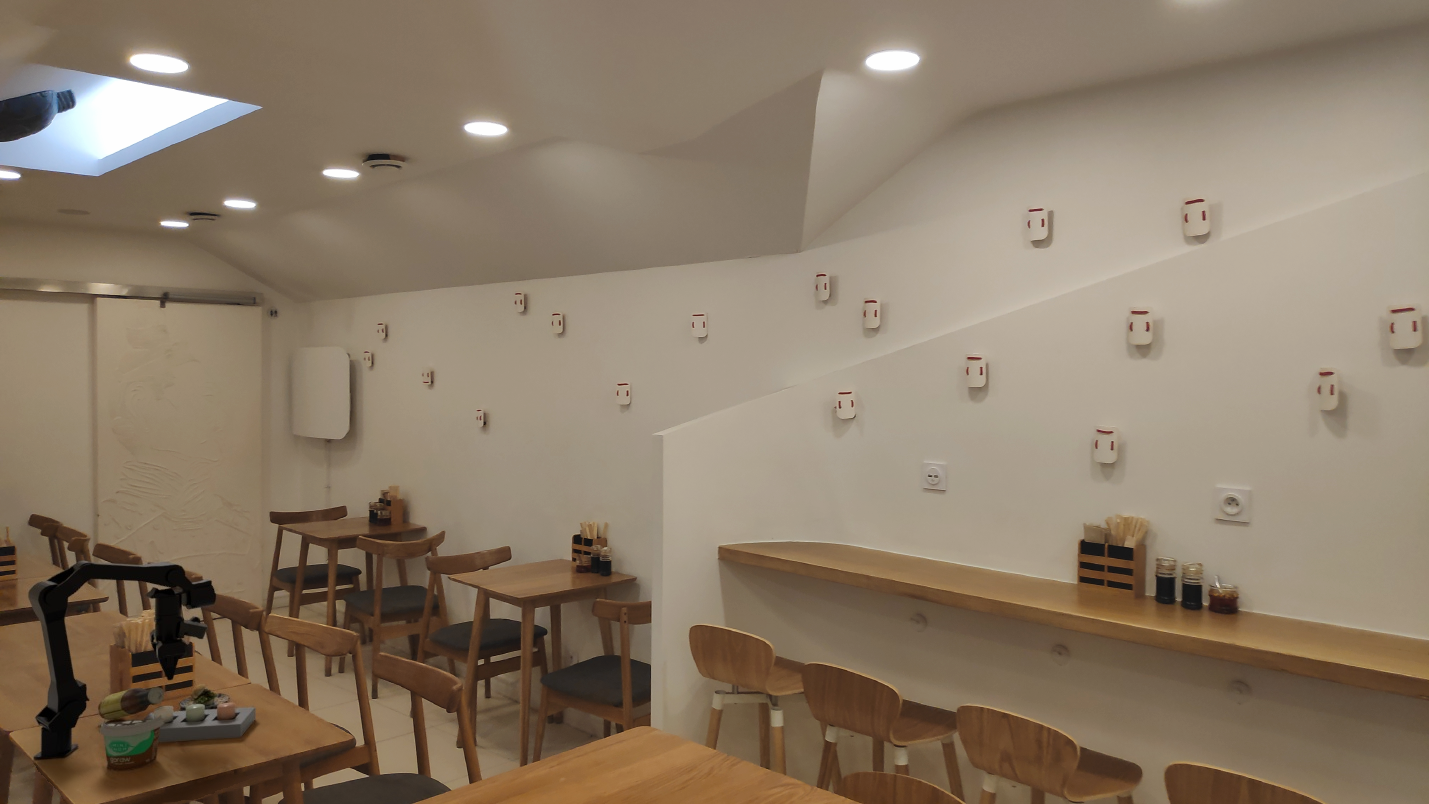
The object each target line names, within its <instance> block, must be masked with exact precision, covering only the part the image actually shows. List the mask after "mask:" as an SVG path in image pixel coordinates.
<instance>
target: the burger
mask: <svg viewBox="0 0 1429 804" xmlns="http://www.w3.org/2000/svg"><path fill="white" fill-rule="evenodd" d="M193 681H194V683H196V682H195V679H193ZM207 686H208V684H206V683H200V684H197V685H195V686H194V687H193V688H192V690H191V693H190V697H187V698H185V699H183V700H181V701H179V708H178V711H186V707H188V706H190V705H195V704H203V705H205V710H210V709H216V708H217V706H218V705H220V704H222V703H227V702H228V701H229V699H231V697H230V696H229V695H227V694H225V693H222V692H220V693H215V692H214V691H212V690H211V689H208V688H207Z"/></svg>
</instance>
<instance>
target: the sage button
mask: <svg viewBox="0 0 1429 804" xmlns="http://www.w3.org/2000/svg"><path fill="white" fill-rule="evenodd" d="M204 718H205V705H203V704H195V705H190V706H188V707H186V721H187V722H196V721H200V720H203V719H204Z"/></svg>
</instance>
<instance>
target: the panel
mask: <svg viewBox="0 0 1429 804" xmlns="http://www.w3.org/2000/svg"><path fill="white" fill-rule="evenodd" d="M153 719H154V712H150V713H149V714H147V715H146V717H145V718H143V719H142V720H153ZM254 720H255V721H256V706H251V707H249V706H247V707H236V711H235V717H234V718H232V719H229V720H218V719H217V708H210V709H207V710H205V718H204V719H203V720H200V721H196V722H187V721H186V711H179V710H178V711H177V710H176V711H174V710H173V721H171V722H168V723H164V724H163V725H162V726H160V732H159V740H158V743H168V742H183V741H184V742H185V741H186V742H188V741H200V740H201V741H202V740H216V739H217V740H218V739H219V740H220V739H233V738H234V739H235V738H241V737H242V736H243V735H244V734H245V732H246V731H247V730H248V729H249V727H250V726H251V725H252V724H253V723H254V722H255V721H254Z"/></svg>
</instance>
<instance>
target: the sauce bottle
mask: <svg viewBox="0 0 1429 804" xmlns="http://www.w3.org/2000/svg"><path fill="white" fill-rule="evenodd" d="M164 697H165V692H164V689H162V688H161V687H158V686H154V687H151V688H149V689H145V688H143V687H134V688H129V689H127V690H122V691H120V692H119V691H118V692H115V693H112V694H109V695H107V696H105V697H103V699H102V700H101V701H100V702H99V704H98V706H97V711H98V714H99V717H100V718H102V719H103V720H104V719H105V721H106V720H109V721H111V720H118V719H121V718H125V717H128V716H131V715H137V714H139V713H141V712H145V711H147V709H148V708H149V707H150V705H152V706H155V705H157V704H160V703H161V702H162V701H163V699H164Z"/></svg>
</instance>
